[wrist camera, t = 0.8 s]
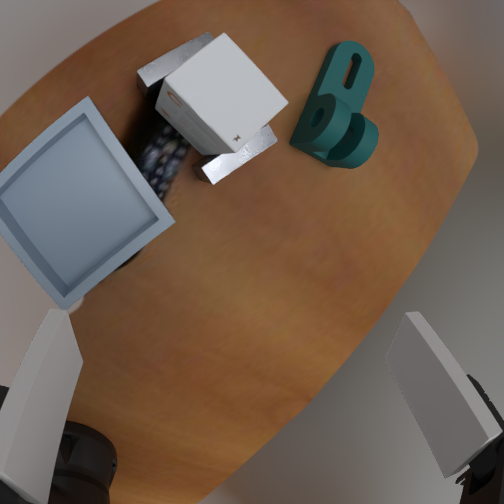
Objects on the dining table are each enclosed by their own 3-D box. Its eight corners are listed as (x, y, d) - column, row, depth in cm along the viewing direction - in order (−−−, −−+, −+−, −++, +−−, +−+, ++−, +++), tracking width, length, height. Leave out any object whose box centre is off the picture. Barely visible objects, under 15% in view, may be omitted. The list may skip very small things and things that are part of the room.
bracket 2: (329, 166, 41) (367, 170, 34) (288, 143, 38) (322, 142, 31) (369, 61, 39) (406, 52, 32) (334, 36, 36) (369, 20, 29)
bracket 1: (201, 180, 36) (213, 184, 30) (136, 84, 30) (136, 71, 25) (257, 142, 37) (278, 141, 31) (197, 49, 31) (208, 31, 26)
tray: (70, 297, 34) (64, 312, 30) (-9, 194, 27) (-23, 198, 23) (171, 215, 36) (175, 221, 32) (93, 102, 29) (88, 95, 25)
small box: (241, 119, 35) (292, 103, 24) (202, 156, 35) (236, 156, 23) (194, 70, 32) (224, 30, 20) (152, 107, 31) (161, 79, 20)
